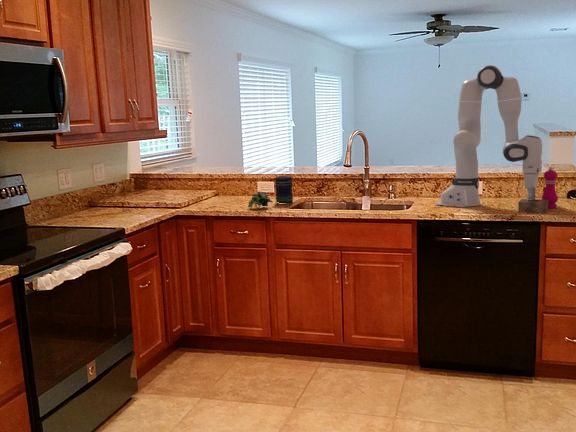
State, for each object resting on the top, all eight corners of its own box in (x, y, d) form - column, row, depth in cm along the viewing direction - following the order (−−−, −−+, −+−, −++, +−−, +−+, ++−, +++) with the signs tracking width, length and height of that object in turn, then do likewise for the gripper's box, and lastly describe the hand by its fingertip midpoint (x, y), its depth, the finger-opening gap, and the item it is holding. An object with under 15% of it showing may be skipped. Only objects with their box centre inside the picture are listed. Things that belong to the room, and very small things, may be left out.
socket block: (518, 212, 286) (518, 201, 285) (521, 209, 294) (521, 198, 293) (545, 213, 280) (545, 202, 279) (547, 210, 288) (548, 199, 288)
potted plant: (263, 217, 333) (275, 199, 332) (259, 216, 322) (271, 198, 321) (247, 205, 335) (259, 187, 334) (242, 205, 324) (254, 186, 323)
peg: (526, 206, 301) (527, 186, 300) (527, 205, 305) (528, 185, 303) (534, 206, 300) (534, 186, 298) (535, 205, 303) (535, 185, 301)
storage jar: (282, 201, 351) (281, 176, 349) (296, 202, 346) (295, 176, 343) (272, 204, 344) (271, 178, 341) (286, 204, 338) (285, 178, 335)
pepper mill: (559, 208, 290) (560, 167, 287) (543, 209, 292) (544, 167, 288) (555, 206, 297) (557, 166, 294) (540, 206, 299) (541, 166, 295)
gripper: (528, 166, 309) (527, 192, 312) (522, 170, 292) (521, 198, 294) (541, 166, 306) (540, 193, 309) (536, 170, 289) (535, 198, 291)
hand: (531, 195), depth 301 cm, fingers open, 4 cm apart
